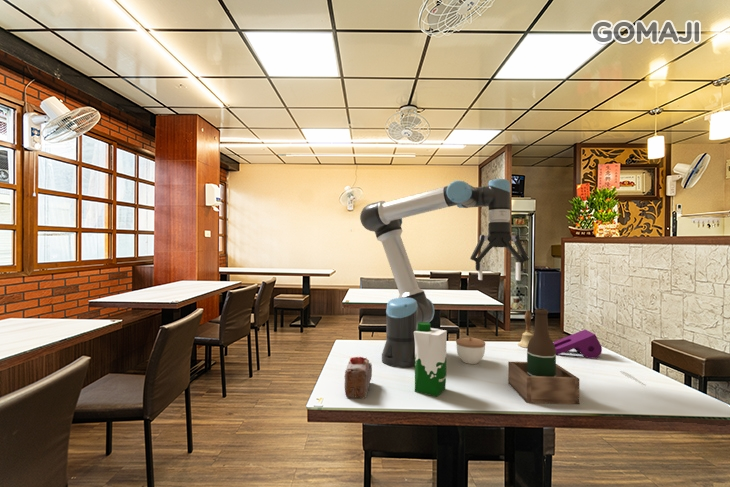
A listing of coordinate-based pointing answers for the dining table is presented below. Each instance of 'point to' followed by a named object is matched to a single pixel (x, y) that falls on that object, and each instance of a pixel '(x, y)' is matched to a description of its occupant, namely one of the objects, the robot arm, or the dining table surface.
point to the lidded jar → (470, 349)
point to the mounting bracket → (580, 344)
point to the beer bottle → (541, 348)
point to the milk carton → (430, 359)
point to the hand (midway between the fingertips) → (499, 280)
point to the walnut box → (544, 385)
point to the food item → (357, 377)
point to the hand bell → (527, 334)
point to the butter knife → (631, 377)
